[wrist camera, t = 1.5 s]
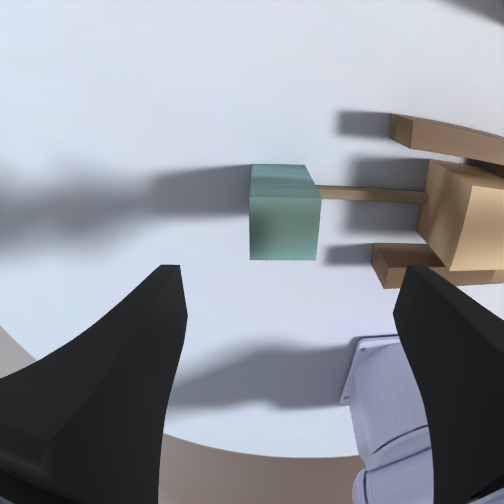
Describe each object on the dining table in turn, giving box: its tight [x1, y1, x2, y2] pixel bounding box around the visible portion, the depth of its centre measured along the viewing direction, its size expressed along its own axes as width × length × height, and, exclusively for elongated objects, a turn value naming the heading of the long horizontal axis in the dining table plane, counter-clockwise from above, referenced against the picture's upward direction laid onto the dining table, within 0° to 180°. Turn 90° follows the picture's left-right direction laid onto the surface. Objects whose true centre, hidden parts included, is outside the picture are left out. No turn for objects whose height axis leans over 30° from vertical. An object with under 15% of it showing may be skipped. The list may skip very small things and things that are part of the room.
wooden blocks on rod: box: [249, 159, 504, 271], centre depth 16 cm, size 5×16×6 cm, turn 90°
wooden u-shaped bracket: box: [371, 113, 504, 289], centre depth 17 cm, size 10×10×3 cm
